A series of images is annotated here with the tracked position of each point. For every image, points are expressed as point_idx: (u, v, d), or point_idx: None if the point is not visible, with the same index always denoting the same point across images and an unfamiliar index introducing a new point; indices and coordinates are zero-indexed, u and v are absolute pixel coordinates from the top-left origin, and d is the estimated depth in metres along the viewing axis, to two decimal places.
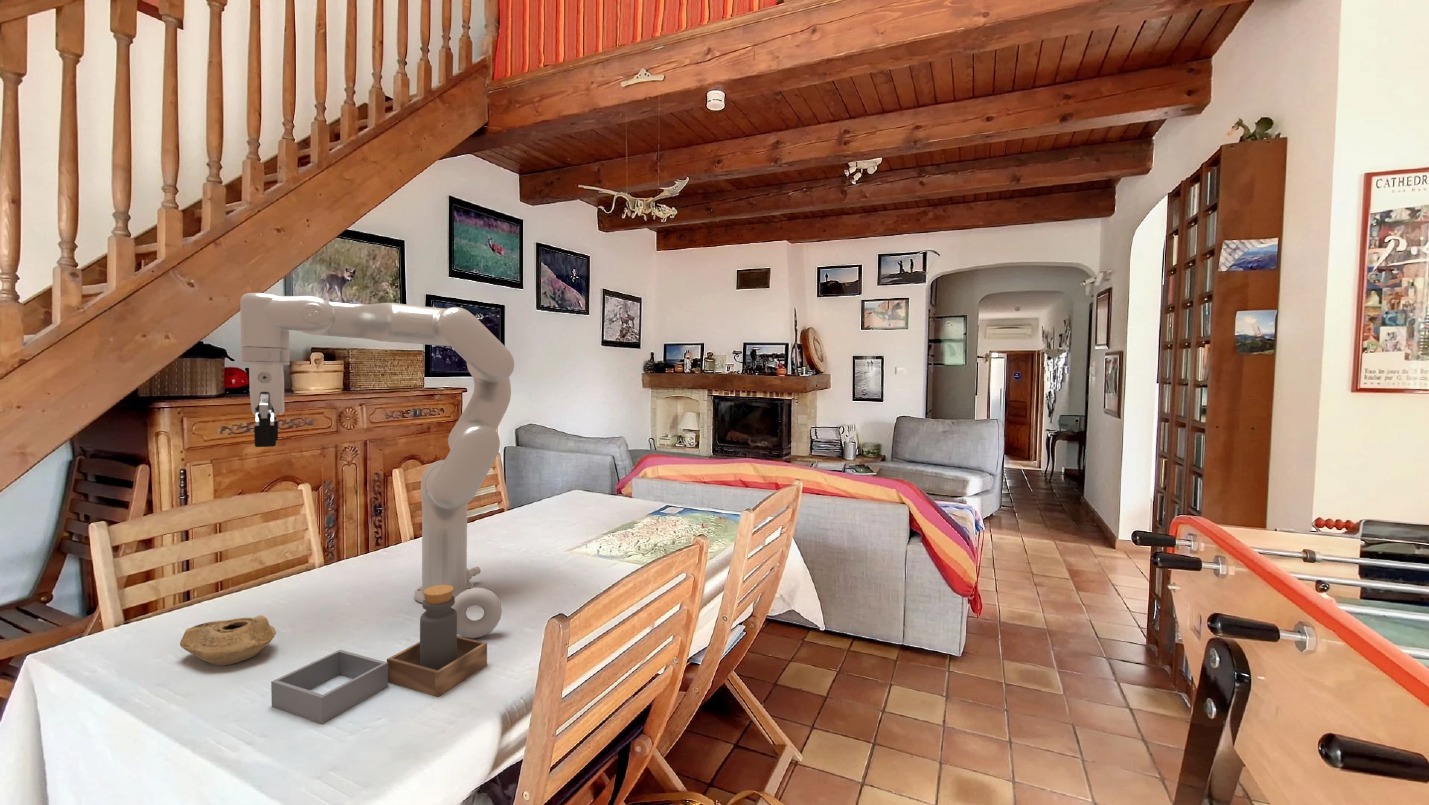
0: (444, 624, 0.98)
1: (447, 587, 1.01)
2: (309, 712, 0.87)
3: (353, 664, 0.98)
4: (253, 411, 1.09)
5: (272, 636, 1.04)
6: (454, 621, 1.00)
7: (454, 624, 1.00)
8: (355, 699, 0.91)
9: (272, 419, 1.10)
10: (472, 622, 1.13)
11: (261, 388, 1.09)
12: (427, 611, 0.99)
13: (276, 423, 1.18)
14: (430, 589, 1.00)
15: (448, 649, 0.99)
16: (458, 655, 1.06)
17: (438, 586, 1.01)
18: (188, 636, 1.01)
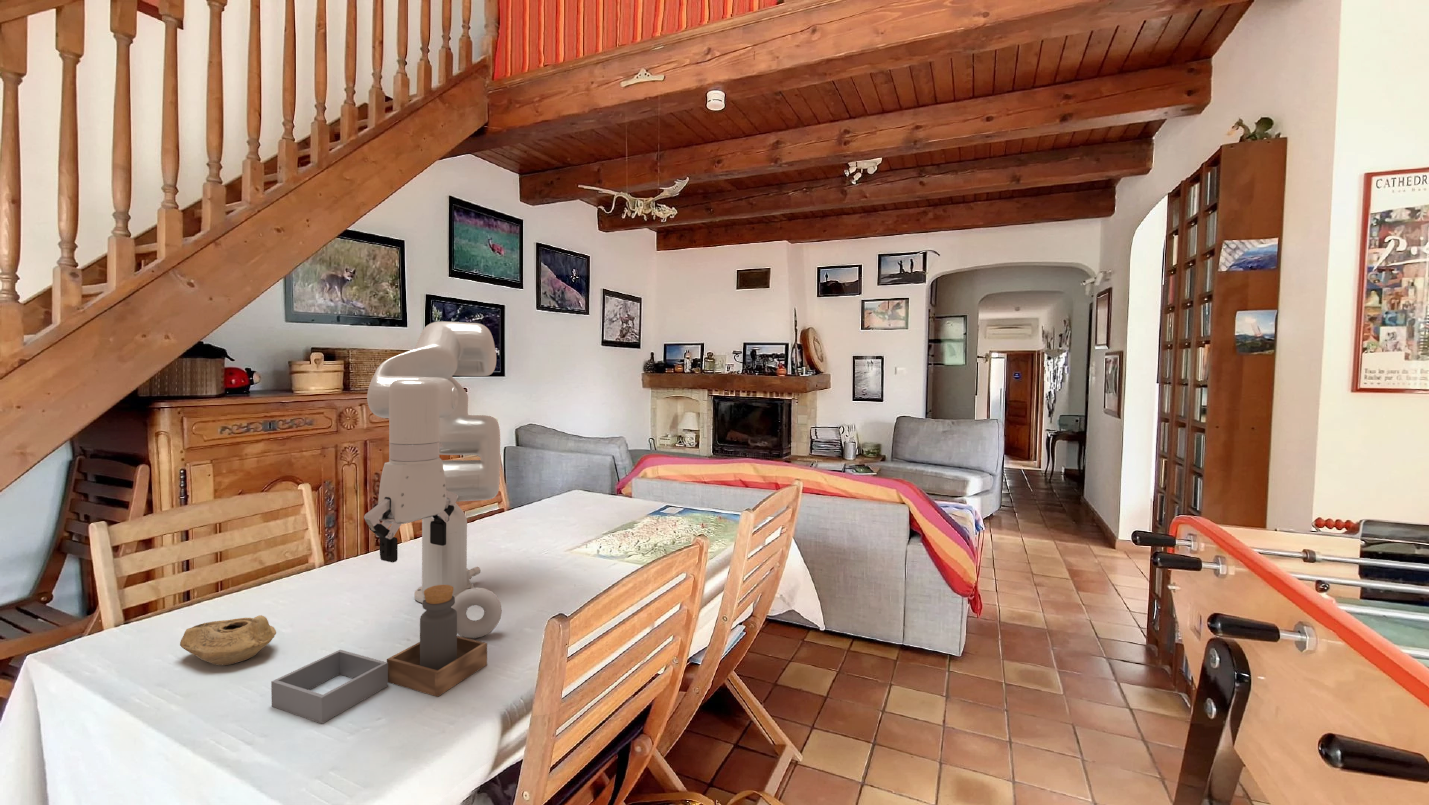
0: (444, 624, 0.98)
1: (447, 587, 1.01)
2: (309, 712, 0.87)
3: (353, 664, 0.98)
4: (444, 508, 1.01)
5: (272, 636, 1.04)
6: (454, 621, 1.00)
7: (454, 624, 1.00)
8: (355, 699, 0.91)
9: None
10: (472, 622, 1.13)
11: None
12: (427, 611, 0.99)
13: None
14: (430, 589, 1.00)
15: (448, 649, 0.99)
16: (458, 655, 1.06)
17: (438, 586, 1.01)
18: (188, 636, 1.01)
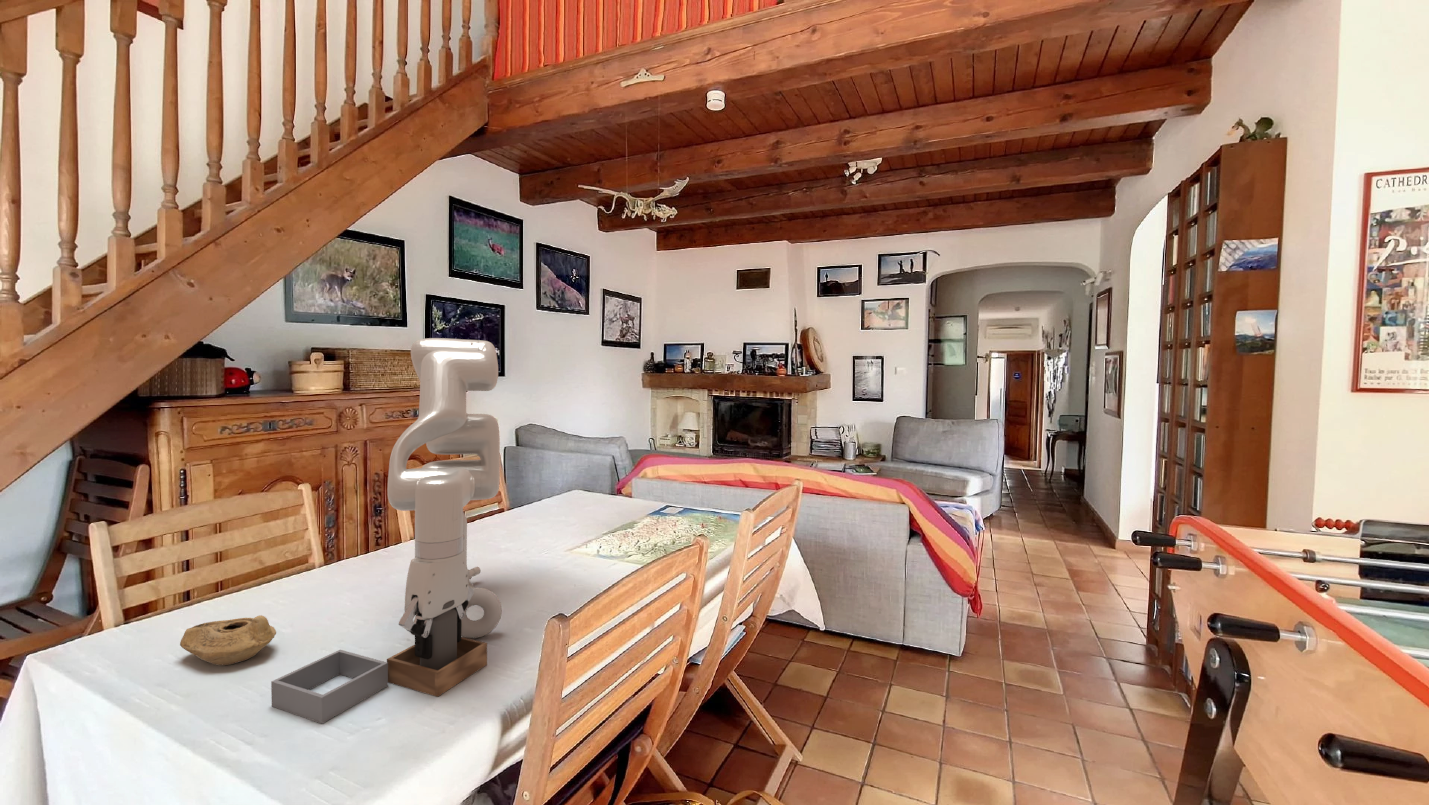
0: (444, 624, 0.98)
1: None
2: (309, 712, 0.87)
3: (353, 664, 0.98)
4: (466, 597, 1.04)
5: (272, 636, 1.04)
6: (454, 621, 1.00)
7: (454, 624, 1.00)
8: (355, 699, 0.91)
9: None
10: (472, 622, 1.13)
11: None
12: None
13: None
14: None
15: (448, 649, 0.99)
16: (458, 655, 1.06)
17: None
18: (188, 636, 1.01)
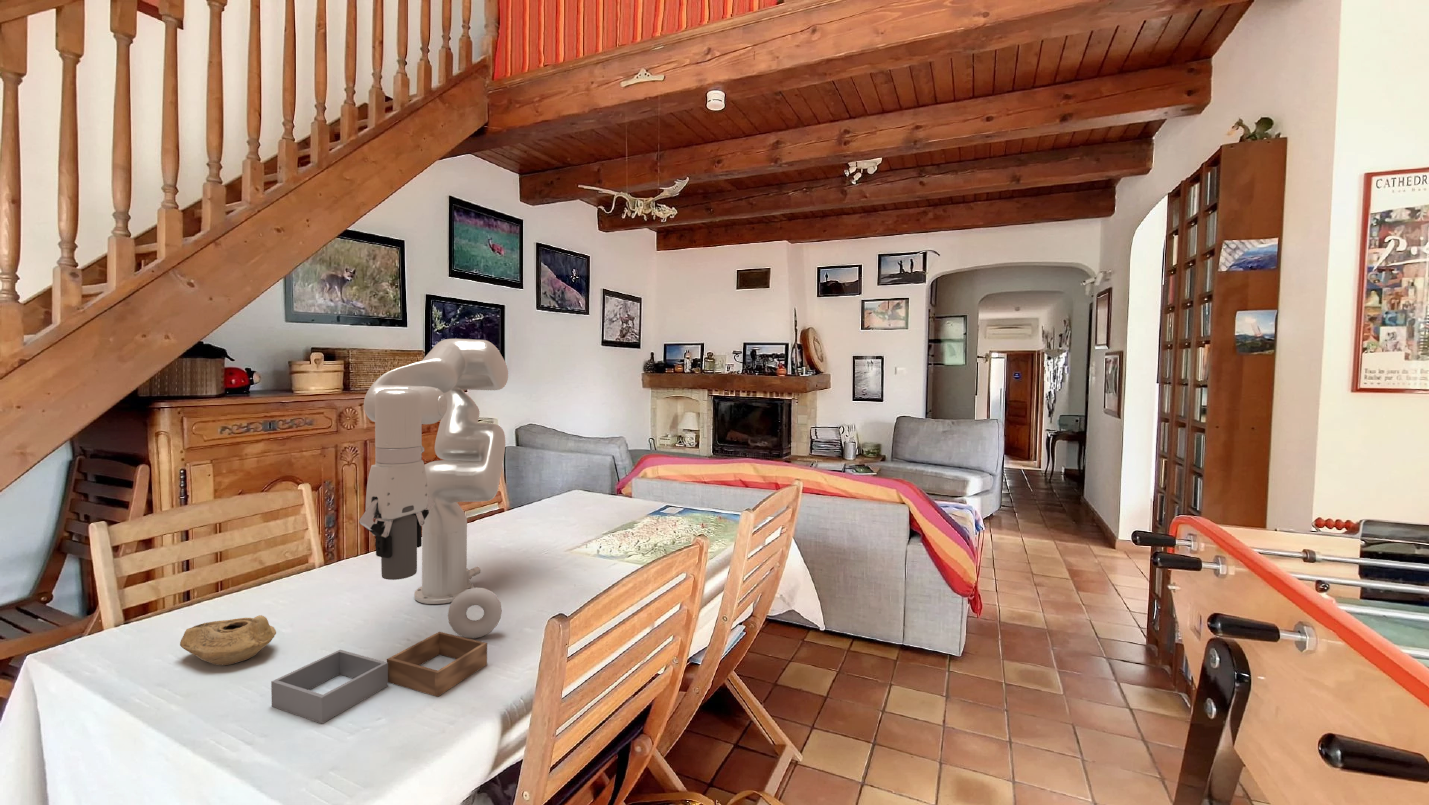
0: (403, 526, 1.05)
1: None
2: (309, 712, 0.87)
3: (353, 664, 0.98)
4: (426, 506, 1.10)
5: (272, 636, 1.04)
6: (413, 525, 1.06)
7: (414, 527, 1.07)
8: (355, 699, 0.91)
9: None
10: (472, 622, 1.13)
11: None
12: None
13: None
14: None
15: (407, 550, 1.06)
16: (458, 655, 1.06)
17: None
18: (188, 636, 1.01)
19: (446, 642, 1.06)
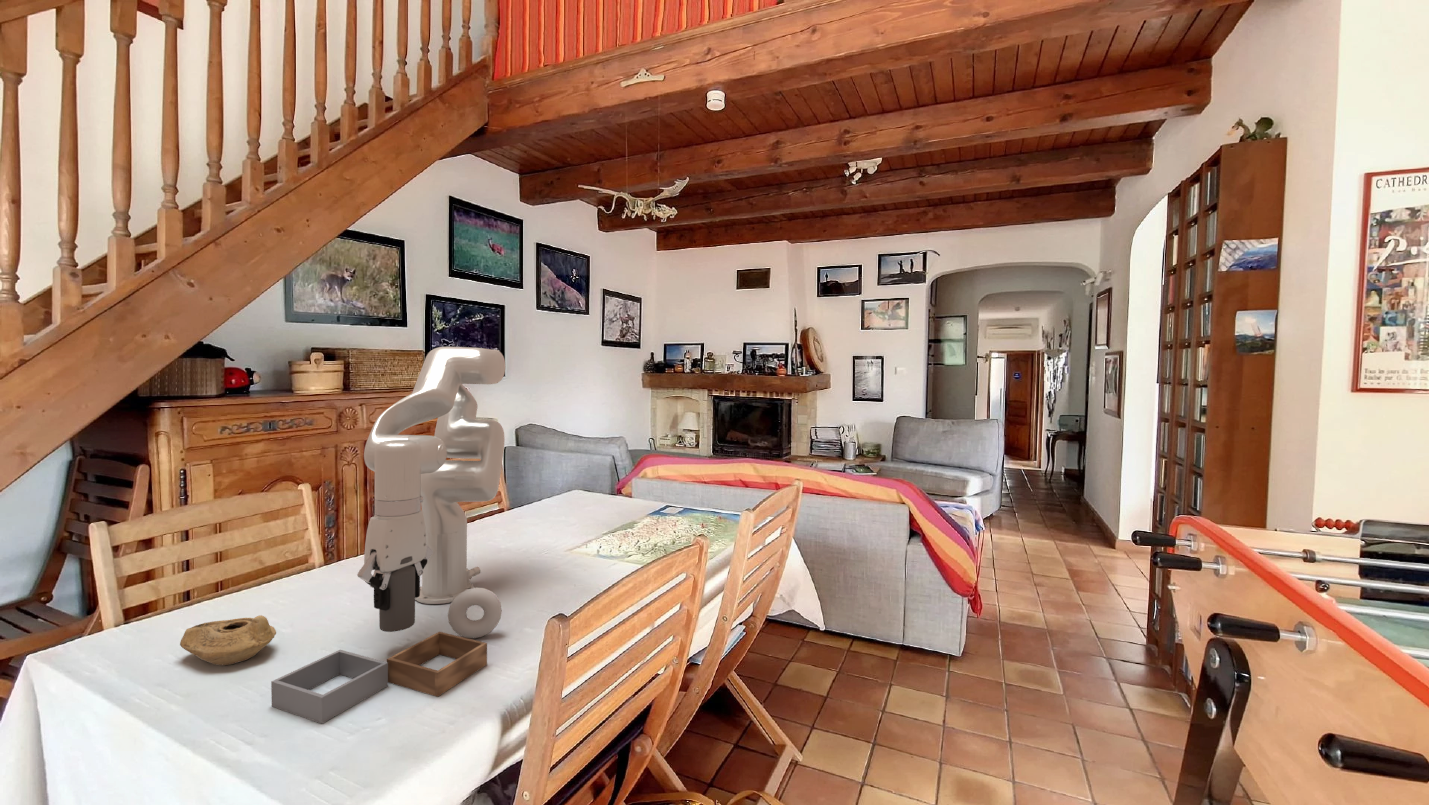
0: (402, 578, 1.05)
1: None
2: (309, 712, 0.87)
3: (353, 664, 0.98)
4: (425, 556, 1.11)
5: (272, 636, 1.04)
6: (412, 576, 1.07)
7: (412, 578, 1.07)
8: (355, 699, 0.91)
9: None
10: (472, 622, 1.13)
11: None
12: None
13: None
14: None
15: (405, 601, 1.06)
16: (458, 655, 1.06)
17: None
18: (188, 636, 1.01)
19: (446, 642, 1.06)
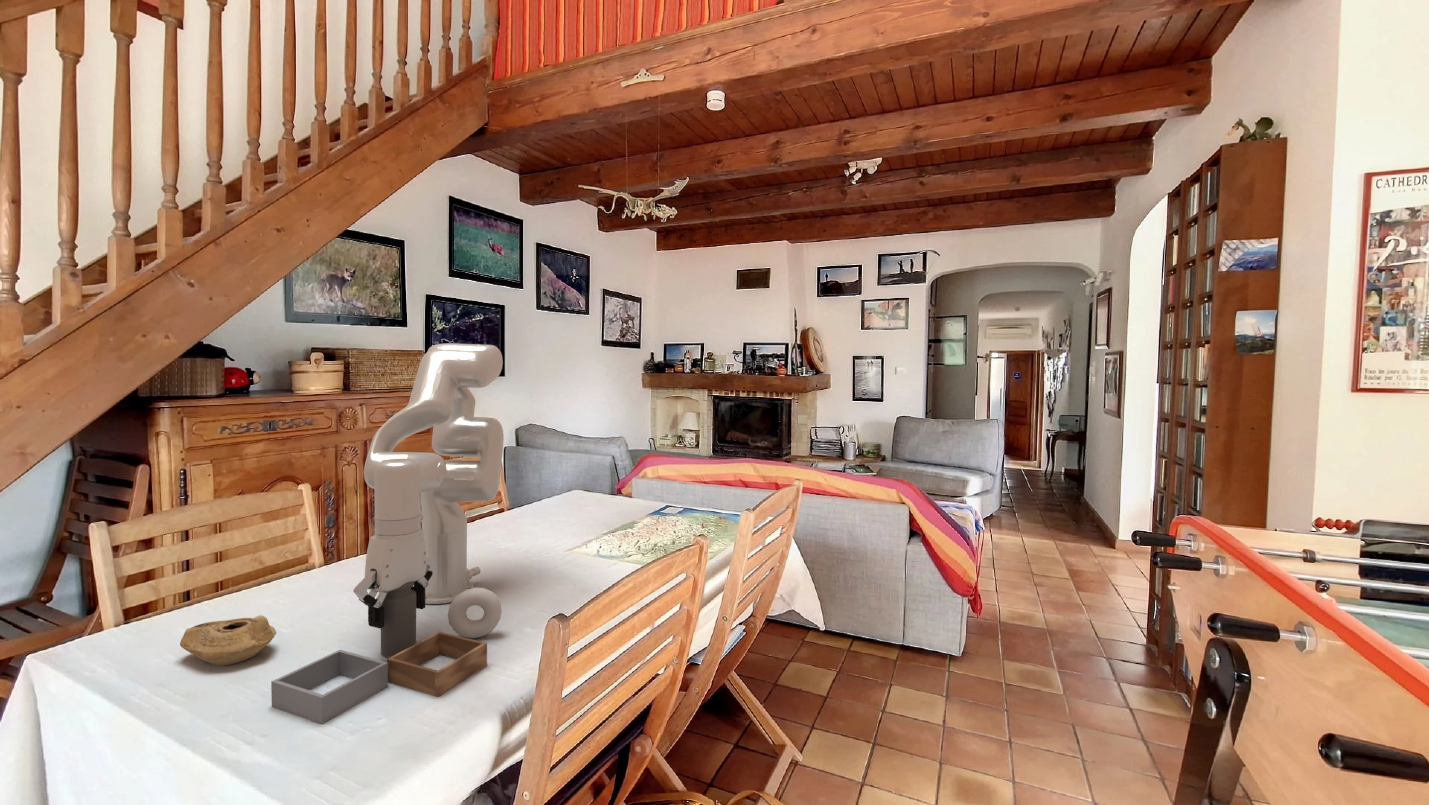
0: (403, 604, 1.06)
1: None
2: (309, 712, 0.87)
3: (353, 664, 0.98)
4: (425, 573, 1.11)
5: (272, 636, 1.04)
6: (413, 602, 1.07)
7: (413, 604, 1.08)
8: (355, 699, 0.91)
9: None
10: (472, 622, 1.13)
11: None
12: (387, 592, 1.06)
13: None
14: None
15: (406, 627, 1.06)
16: (458, 655, 1.06)
17: None
18: (188, 636, 1.01)
19: (446, 642, 1.06)
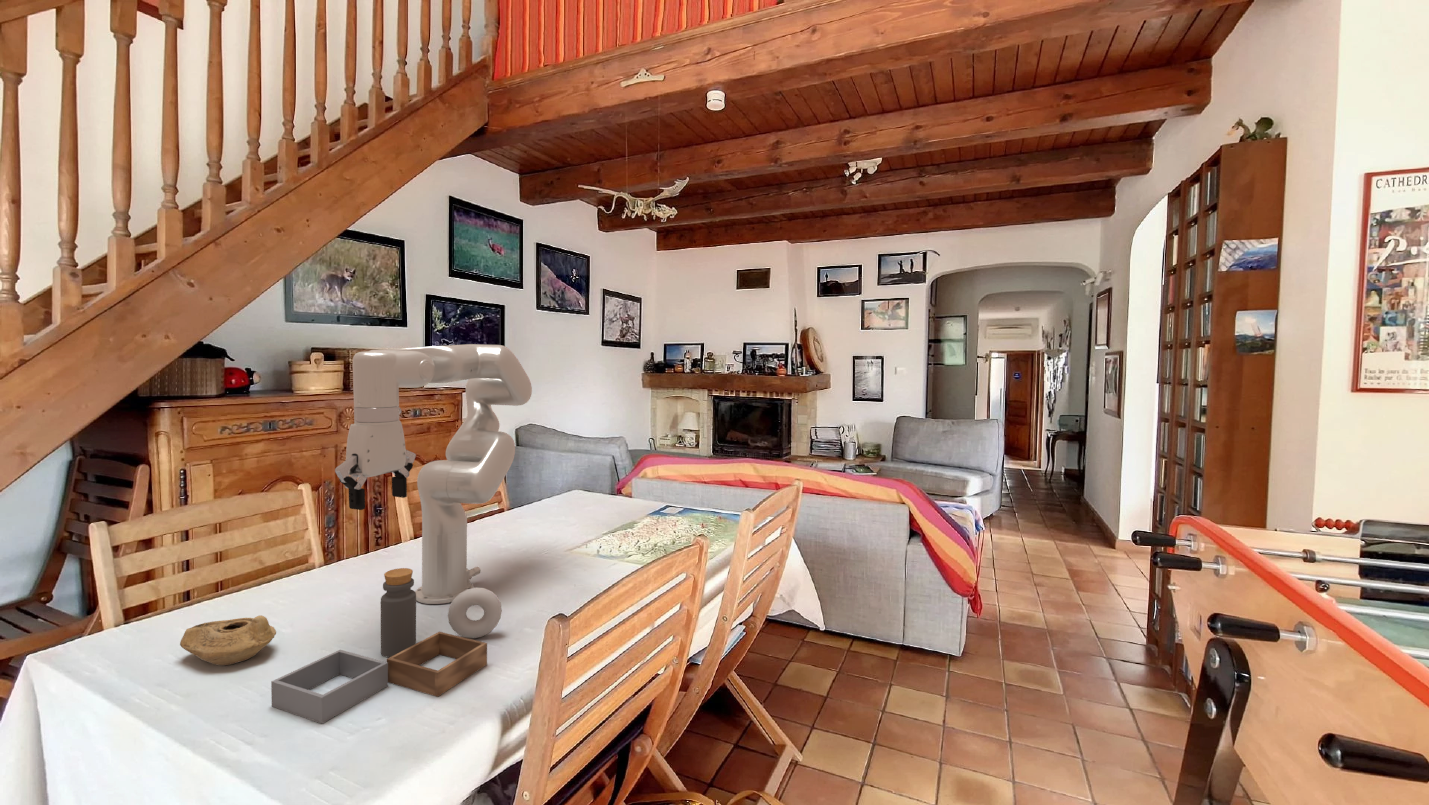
0: (402, 604, 1.06)
1: (407, 570, 1.08)
2: (309, 712, 0.87)
3: (353, 664, 0.98)
4: (404, 465, 1.16)
5: (272, 636, 1.04)
6: (413, 602, 1.07)
7: (413, 604, 1.08)
8: (355, 699, 0.91)
9: None
10: (472, 622, 1.13)
11: None
12: (387, 592, 1.06)
13: None
14: (390, 571, 1.07)
15: (406, 627, 1.06)
16: (458, 655, 1.06)
17: (398, 569, 1.09)
18: (188, 636, 1.01)
19: (446, 642, 1.06)
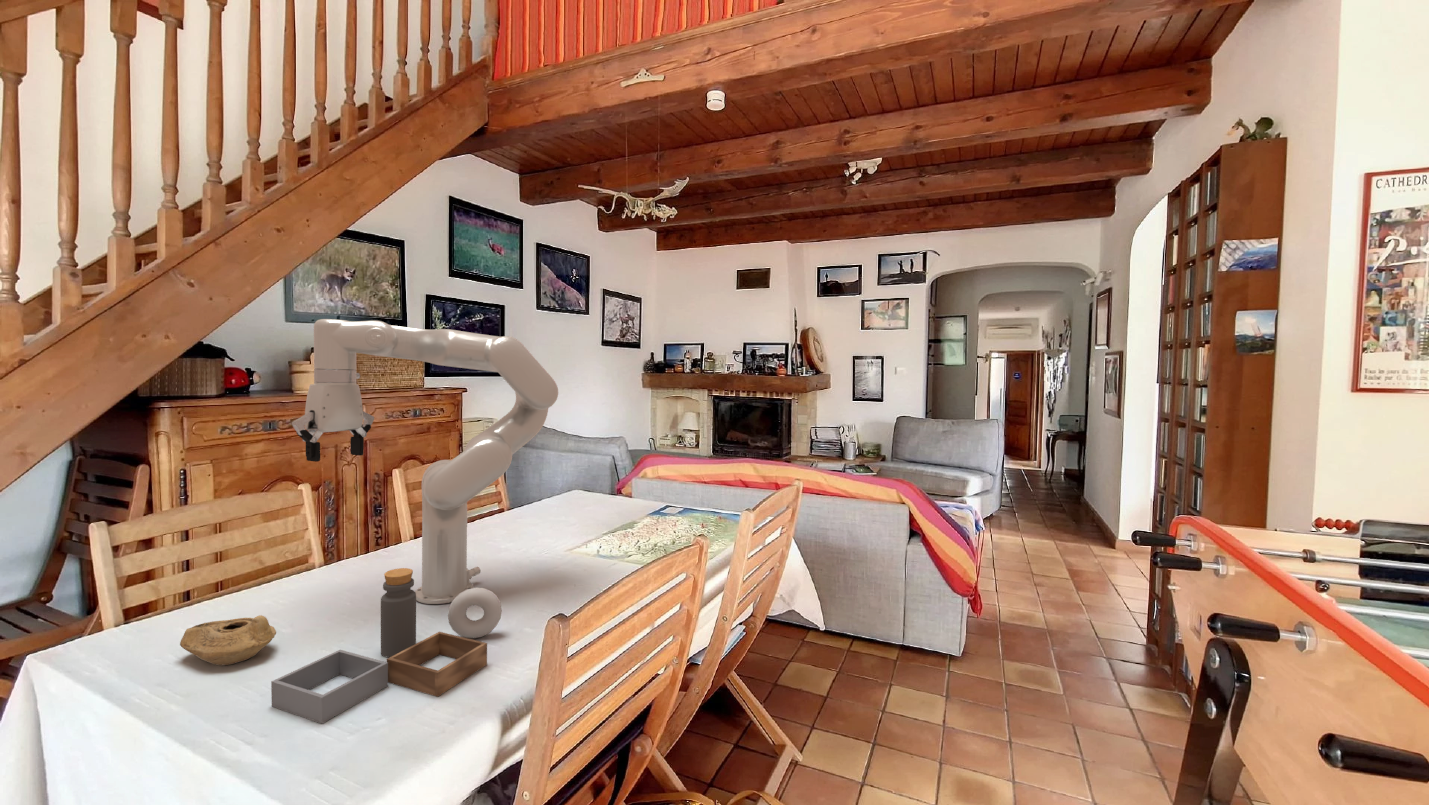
0: (403, 604, 1.06)
1: (407, 570, 1.08)
2: (309, 712, 0.87)
3: (353, 664, 0.98)
4: (361, 425, 1.26)
5: (272, 636, 1.04)
6: (413, 602, 1.07)
7: (413, 604, 1.08)
8: (355, 699, 0.91)
9: None
10: (472, 622, 1.13)
11: None
12: (387, 592, 1.06)
13: None
14: (390, 571, 1.07)
15: (406, 627, 1.06)
16: (458, 655, 1.06)
17: (398, 569, 1.09)
18: (188, 636, 1.01)
19: (446, 642, 1.06)
